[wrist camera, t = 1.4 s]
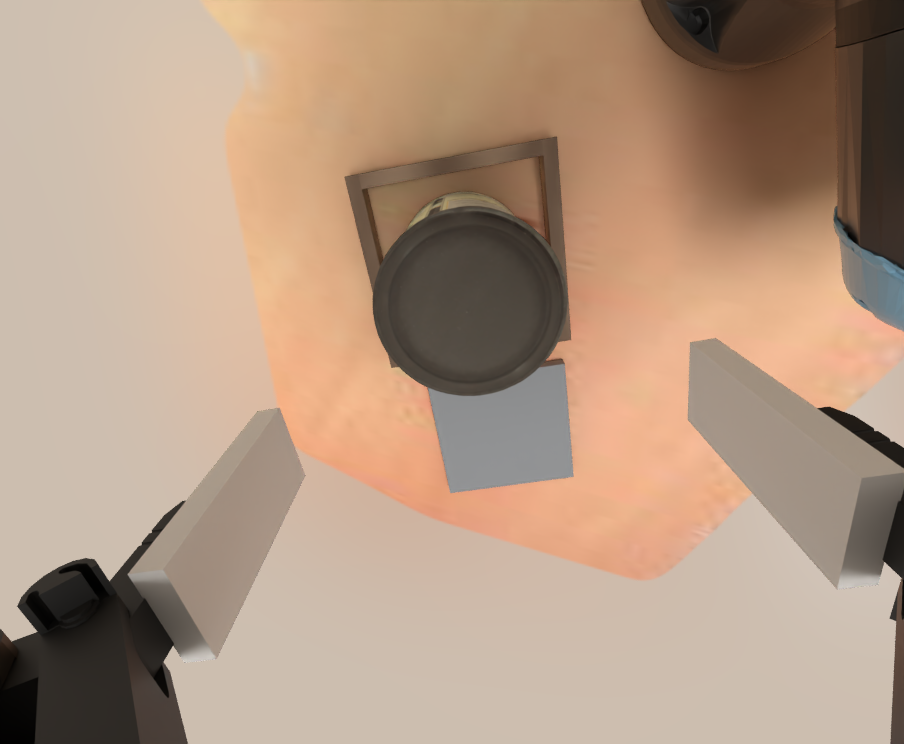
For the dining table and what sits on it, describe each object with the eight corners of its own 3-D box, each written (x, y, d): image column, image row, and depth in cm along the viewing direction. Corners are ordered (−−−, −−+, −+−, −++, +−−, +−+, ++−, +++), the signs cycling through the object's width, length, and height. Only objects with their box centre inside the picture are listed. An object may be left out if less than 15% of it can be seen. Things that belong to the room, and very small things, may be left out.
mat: (562, 359, 41) (564, 363, 40) (571, 470, 46) (573, 476, 45) (427, 379, 42) (427, 384, 41) (450, 486, 47) (450, 493, 46)
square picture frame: (551, 137, 34) (556, 136, 32) (565, 331, 40) (571, 339, 38) (350, 175, 35) (344, 176, 33) (394, 358, 41) (391, 367, 39)
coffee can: (515, 328, 40) (544, 408, 27) (395, 311, 39) (365, 384, 26) (542, 201, 36) (591, 224, 23) (408, 180, 35) (380, 191, 22)
